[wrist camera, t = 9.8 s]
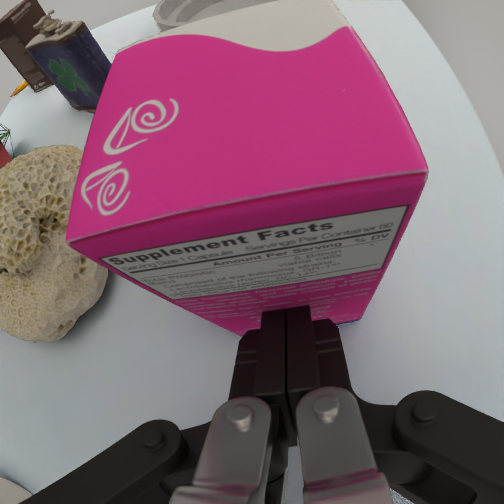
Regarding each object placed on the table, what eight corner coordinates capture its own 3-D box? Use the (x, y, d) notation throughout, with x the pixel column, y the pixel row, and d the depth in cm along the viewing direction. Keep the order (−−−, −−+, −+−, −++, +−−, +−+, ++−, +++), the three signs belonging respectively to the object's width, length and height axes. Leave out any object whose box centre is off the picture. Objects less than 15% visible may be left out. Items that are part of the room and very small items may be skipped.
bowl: (161, 81, 24) (141, 46, 20) (174, 13, 30) (162, -13, 26) (342, 42, 21) (339, 1, 18) (301, -16, 27) (296, -44, 24)
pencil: (78, 40, 32) (80, 41, 33) (7, 95, 33) (9, 95, 33) (81, 45, 33) (82, 45, 33) (9, 99, 33) (11, 99, 34)
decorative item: (-12, 183, 19) (31, 91, 14) (73, 224, 25) (139, 156, 20) (-57, 331, 12) (-57, 277, 8) (54, 365, 19) (122, 337, 14)
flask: (69, 109, 26) (10, 36, 16) (88, 88, 27) (34, 14, 17) (123, 120, 23) (52, 20, 13) (146, 95, 23) (85, -6, 14)
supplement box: (228, 228, 17) (113, 43, 7) (341, 209, 16) (341, -11, 6) (235, 340, 15) (49, 242, 4) (364, 322, 14) (459, 168, 3)
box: (57, 82, 30) (6, 16, 19) (34, 93, 31) (-15, 34, 20) (76, 54, 32) (33, -8, 21) (53, 65, 33) (11, 8, 22)
